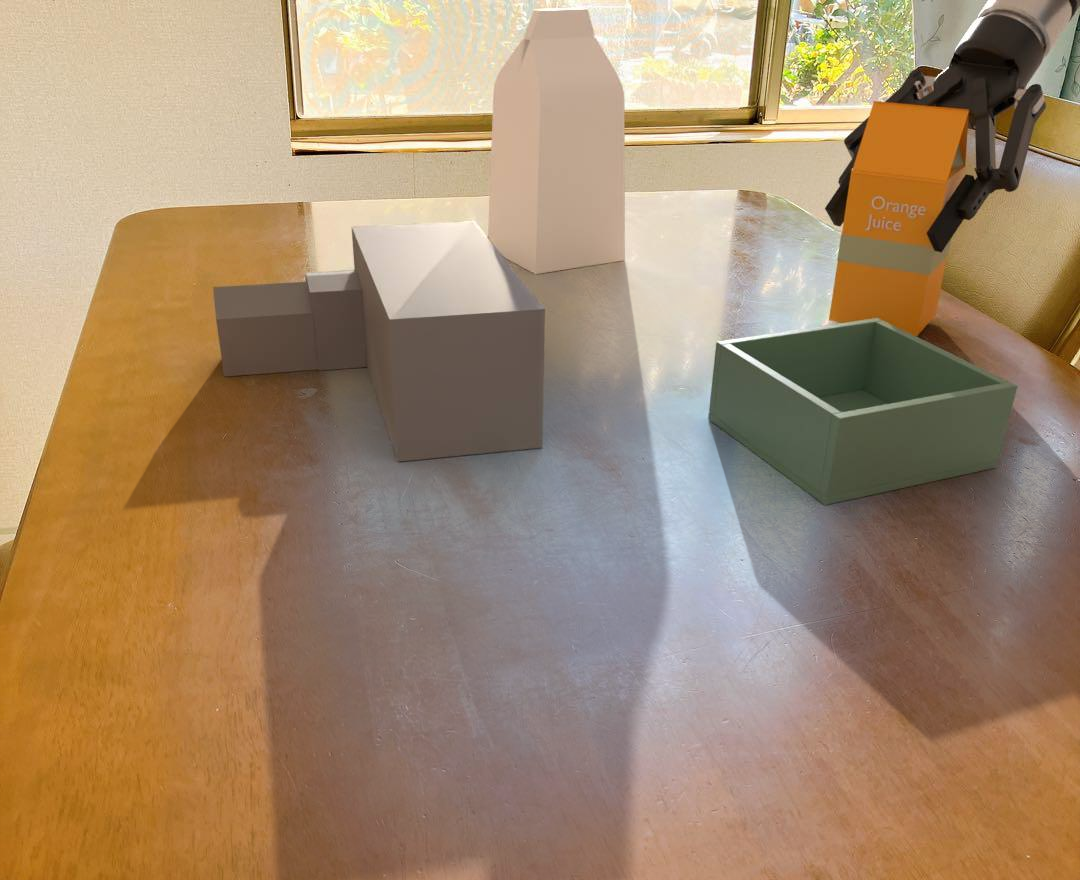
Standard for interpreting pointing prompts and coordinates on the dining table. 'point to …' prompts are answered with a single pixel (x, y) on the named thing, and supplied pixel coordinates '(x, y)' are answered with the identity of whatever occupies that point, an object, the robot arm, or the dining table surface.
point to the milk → (558, 149)
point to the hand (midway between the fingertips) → (881, 229)
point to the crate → (858, 408)
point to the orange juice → (898, 215)
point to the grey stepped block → (408, 336)
